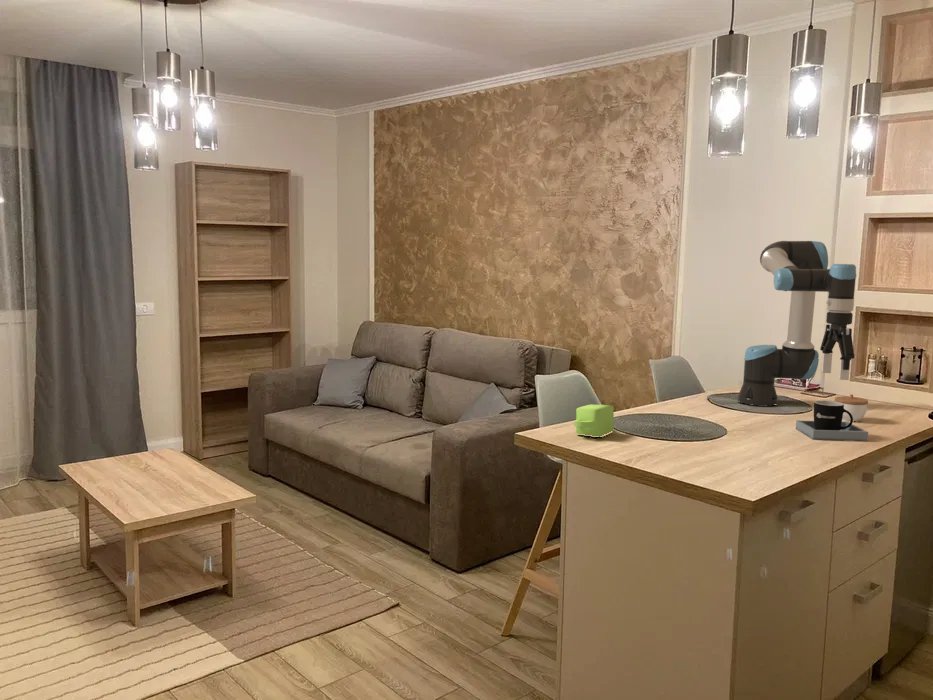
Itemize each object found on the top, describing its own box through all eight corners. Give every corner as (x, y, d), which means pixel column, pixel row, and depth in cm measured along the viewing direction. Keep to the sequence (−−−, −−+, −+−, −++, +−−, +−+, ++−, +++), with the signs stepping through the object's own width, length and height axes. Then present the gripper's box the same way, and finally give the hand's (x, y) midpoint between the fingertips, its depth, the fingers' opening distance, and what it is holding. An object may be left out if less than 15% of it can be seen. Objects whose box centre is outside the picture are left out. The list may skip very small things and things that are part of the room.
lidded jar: (863, 418, 275) (865, 393, 274) (868, 424, 265) (870, 398, 264) (831, 415, 278) (833, 391, 277) (835, 421, 268) (837, 396, 267)
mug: (808, 433, 248) (810, 403, 246) (815, 428, 255) (817, 399, 253) (848, 439, 240) (851, 408, 239) (854, 434, 247) (856, 403, 246)
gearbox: (592, 428, 254) (592, 400, 254) (619, 431, 249) (619, 403, 248) (567, 437, 240) (567, 408, 239) (595, 440, 234) (595, 410, 233)
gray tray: (795, 428, 256) (796, 420, 255) (846, 430, 255) (847, 421, 254) (812, 439, 241) (813, 430, 240) (867, 441, 240) (868, 432, 239)
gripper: (812, 308, 255) (808, 369, 258) (844, 314, 231) (839, 382, 233) (835, 308, 255) (830, 370, 258) (869, 315, 230) (864, 383, 233)
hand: (834, 376), depth 245 cm, fingers open, 13 cm apart
